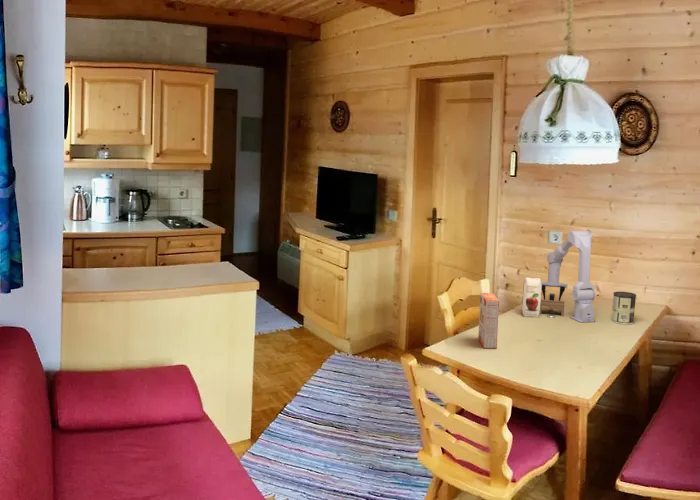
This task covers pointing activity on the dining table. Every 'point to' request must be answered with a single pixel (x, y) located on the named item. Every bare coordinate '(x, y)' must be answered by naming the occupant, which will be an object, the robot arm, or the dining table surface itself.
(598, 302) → the dining table surface
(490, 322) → the cracker box
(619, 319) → the coffee can
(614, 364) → the dining table surface
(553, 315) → the steel token
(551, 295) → the brown-topped white block
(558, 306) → the walnut u-shaped block
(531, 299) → the juice carton
